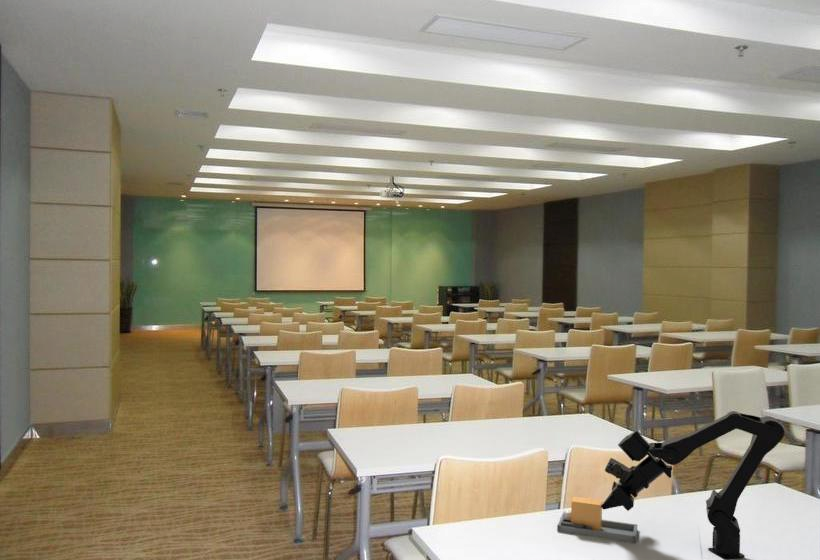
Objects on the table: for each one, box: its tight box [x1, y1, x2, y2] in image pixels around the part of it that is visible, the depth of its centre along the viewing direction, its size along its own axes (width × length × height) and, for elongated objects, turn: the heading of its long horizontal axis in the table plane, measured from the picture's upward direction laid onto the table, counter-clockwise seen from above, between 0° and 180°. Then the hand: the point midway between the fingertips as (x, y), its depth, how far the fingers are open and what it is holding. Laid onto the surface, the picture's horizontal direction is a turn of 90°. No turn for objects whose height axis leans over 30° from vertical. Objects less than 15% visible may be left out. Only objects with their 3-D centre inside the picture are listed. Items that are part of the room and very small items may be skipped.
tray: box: [556, 513, 638, 544], centre depth 188 cm, size 21×10×3 cm, turn 69°
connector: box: [562, 496, 603, 531], centre depth 190 cm, size 10×4×8 cm, turn 69°
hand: (602, 507), depth 188 cm, fingers closed, pressing on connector
